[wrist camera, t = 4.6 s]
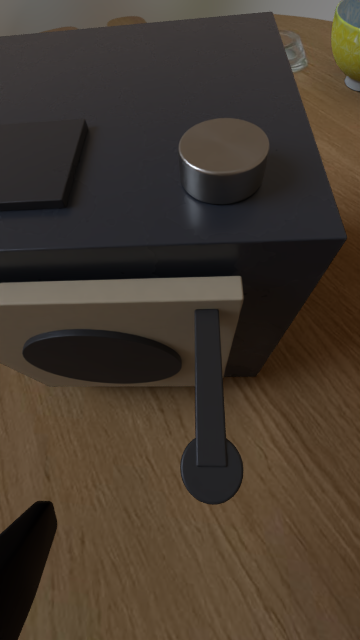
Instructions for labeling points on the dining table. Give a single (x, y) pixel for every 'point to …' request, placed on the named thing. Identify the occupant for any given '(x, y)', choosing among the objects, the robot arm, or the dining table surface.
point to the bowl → (347, 41)
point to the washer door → (136, 351)
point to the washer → (166, 166)
